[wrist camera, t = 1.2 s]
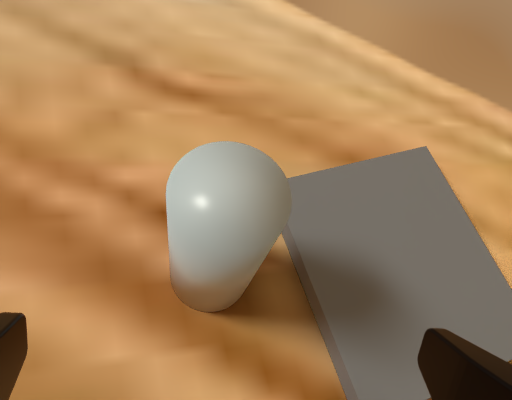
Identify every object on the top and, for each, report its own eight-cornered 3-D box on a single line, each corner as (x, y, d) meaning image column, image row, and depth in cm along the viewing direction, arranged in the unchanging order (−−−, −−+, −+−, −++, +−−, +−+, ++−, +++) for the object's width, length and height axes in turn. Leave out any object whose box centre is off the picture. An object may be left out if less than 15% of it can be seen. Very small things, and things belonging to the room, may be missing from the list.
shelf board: (524, 347, 24) (544, 344, 23) (357, 424, 21) (369, 426, 19) (414, 157, 30) (426, 146, 28) (266, 193, 26) (270, 182, 25)
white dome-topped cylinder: (258, 298, 23) (310, 234, 14) (181, 323, 22) (185, 270, 13) (234, 227, 24) (267, 132, 16) (161, 247, 23) (152, 153, 14)
